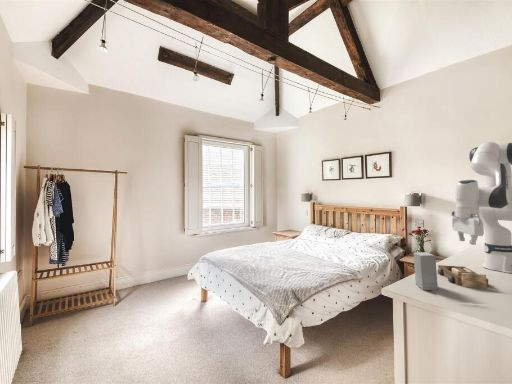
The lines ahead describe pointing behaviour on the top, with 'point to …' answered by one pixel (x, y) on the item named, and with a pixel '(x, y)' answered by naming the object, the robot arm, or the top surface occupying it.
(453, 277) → the cart bed
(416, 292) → the top surface
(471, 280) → the tailgate
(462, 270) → the block
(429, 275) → the skincare box
